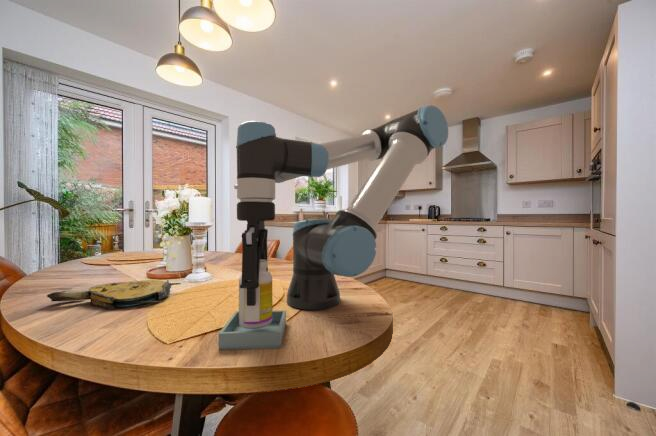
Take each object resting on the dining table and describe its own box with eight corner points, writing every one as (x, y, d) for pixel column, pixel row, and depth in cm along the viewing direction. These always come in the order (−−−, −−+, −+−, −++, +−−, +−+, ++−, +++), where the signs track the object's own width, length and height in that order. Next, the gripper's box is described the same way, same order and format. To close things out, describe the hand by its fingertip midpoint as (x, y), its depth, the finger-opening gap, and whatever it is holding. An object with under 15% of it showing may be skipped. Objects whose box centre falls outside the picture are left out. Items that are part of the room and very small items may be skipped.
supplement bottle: (278, 323, 55) (278, 261, 55) (248, 333, 50) (248, 265, 50) (262, 314, 60) (262, 257, 59) (233, 323, 55) (233, 260, 55)
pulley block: (70, 275, 79) (181, 272, 84) (72, 294, 80) (182, 290, 85) (26, 298, 65) (162, 292, 71) (30, 320, 66) (163, 313, 72)
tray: (285, 323, 61) (286, 310, 61) (280, 348, 50) (280, 332, 50) (235, 324, 60) (235, 311, 60) (218, 349, 49) (218, 333, 49)
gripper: (248, 203, 64) (248, 298, 64) (221, 198, 45) (221, 336, 45) (280, 203, 65) (280, 298, 65) (267, 198, 45) (266, 334, 45)
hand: (256, 313), depth 55 cm, fingers closed on supplement bottle, 7 cm apart
